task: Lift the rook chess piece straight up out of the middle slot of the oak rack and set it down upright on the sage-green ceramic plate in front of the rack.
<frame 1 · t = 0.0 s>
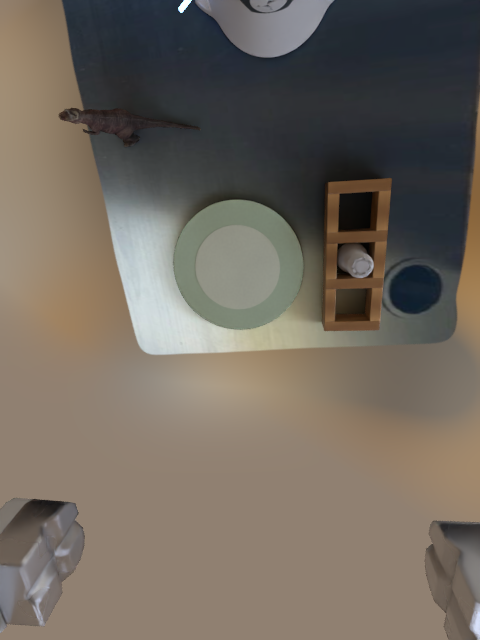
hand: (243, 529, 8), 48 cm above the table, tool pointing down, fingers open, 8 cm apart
rack: (350, 256, 52), on the table
plate: (238, 267, 55), on the table
rook chess piece: (350, 256, 52), resting in rack
dinosaur model: (152, 129, 50), on the table
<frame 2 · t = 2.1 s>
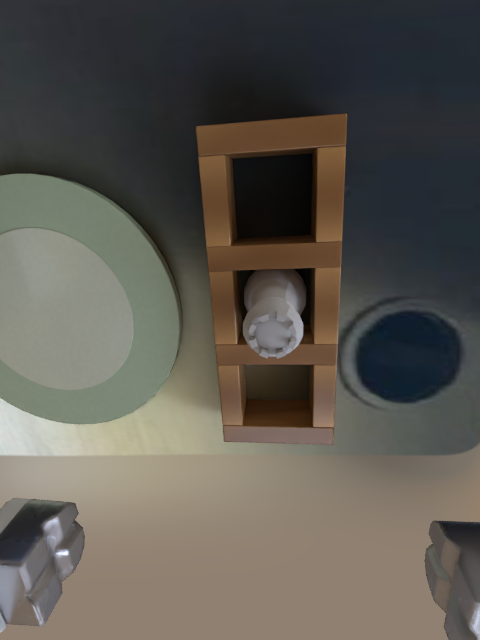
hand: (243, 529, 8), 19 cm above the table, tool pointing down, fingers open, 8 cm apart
rack: (275, 292, 25), on the table
plate: (60, 310, 28), on the table
rook chess piece: (275, 292, 26), resting in rack
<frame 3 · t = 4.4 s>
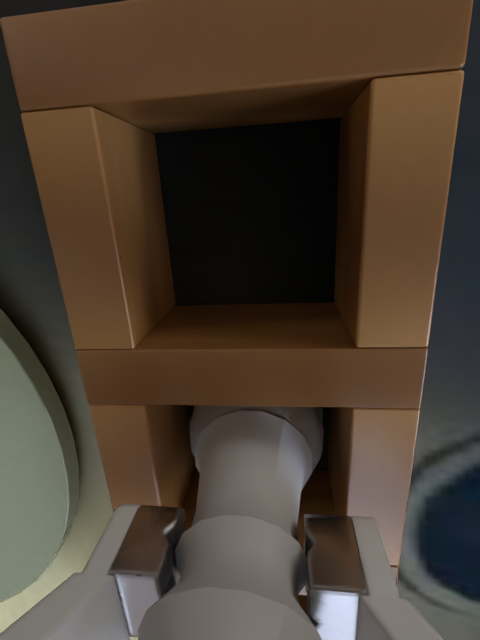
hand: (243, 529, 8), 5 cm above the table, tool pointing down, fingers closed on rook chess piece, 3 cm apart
rack: (257, 411, 12), on the table
rook chess piece: (258, 408, 13), resting in rack, touching gripper
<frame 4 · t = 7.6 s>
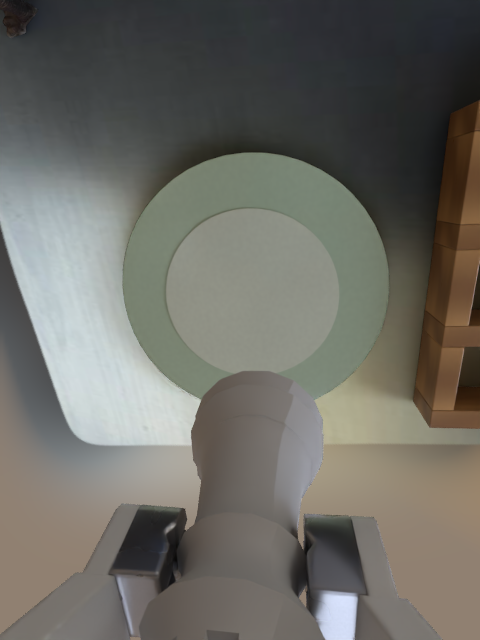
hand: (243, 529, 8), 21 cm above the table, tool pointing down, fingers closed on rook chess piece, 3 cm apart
plate: (251, 294, 28), on the table
rook chess piece: (259, 418, 13), point 16 cm above the table, touching gripper
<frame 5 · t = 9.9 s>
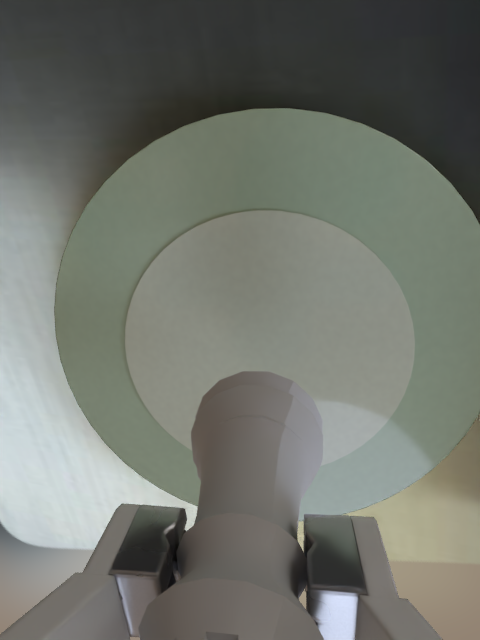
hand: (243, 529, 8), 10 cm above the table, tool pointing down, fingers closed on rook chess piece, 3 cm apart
plate: (264, 348, 17), on the table
rook chess piece: (259, 418, 13), point 5 cm above the table, touching gripper
when the fingers open (6 cm above the table, at t = 11.1 s): rook chess piece stays where it is, resting on plate.
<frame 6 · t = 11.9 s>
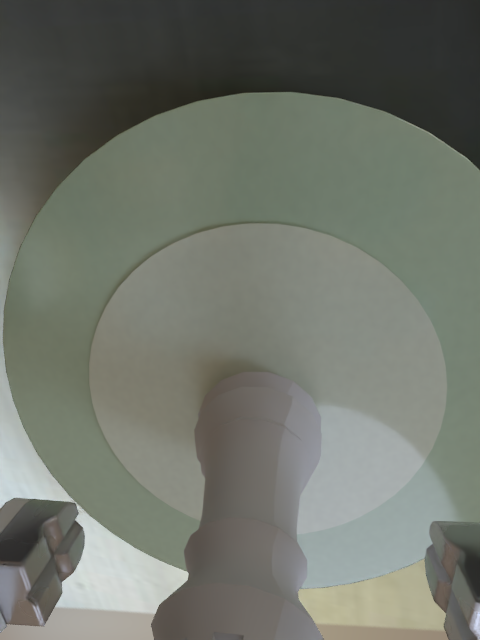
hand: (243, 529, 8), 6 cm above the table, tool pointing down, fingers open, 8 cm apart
plate: (259, 387, 14), on the table
rook chess piece: (259, 414, 13), point 1 cm above the table, touching plate
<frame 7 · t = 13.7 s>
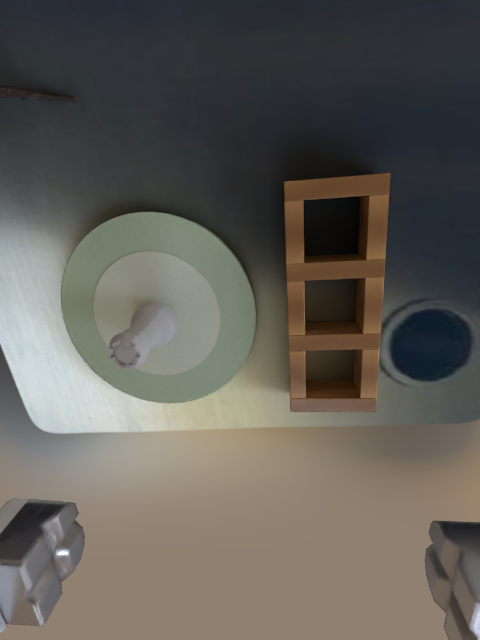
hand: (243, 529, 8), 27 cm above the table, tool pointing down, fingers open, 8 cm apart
rack: (329, 296, 34), on the table
plate: (160, 312, 36), on the table
rook chess piece: (157, 321, 35), point 1 cm above the table, touching plate
dinosaur model: (10, 103, 31), on the table
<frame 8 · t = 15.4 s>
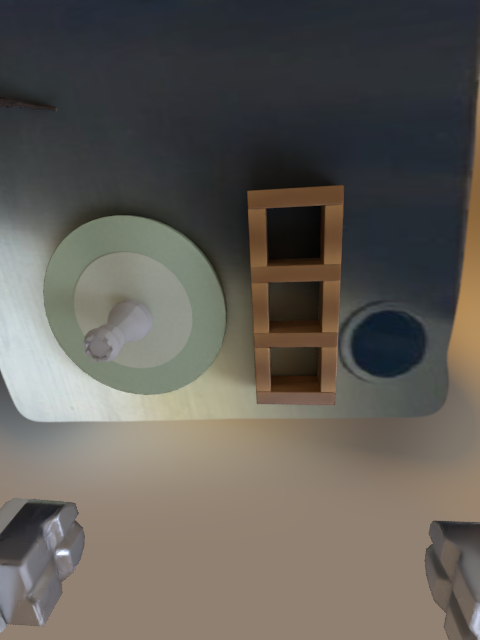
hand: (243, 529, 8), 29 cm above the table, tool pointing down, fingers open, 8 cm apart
rack: (294, 297, 36), on the table
plate: (137, 309, 38), on the table
rook chess piece: (134, 317, 38), point 1 cm above the table, touching plate
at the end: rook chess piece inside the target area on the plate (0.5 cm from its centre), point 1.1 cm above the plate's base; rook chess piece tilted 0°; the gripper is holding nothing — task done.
